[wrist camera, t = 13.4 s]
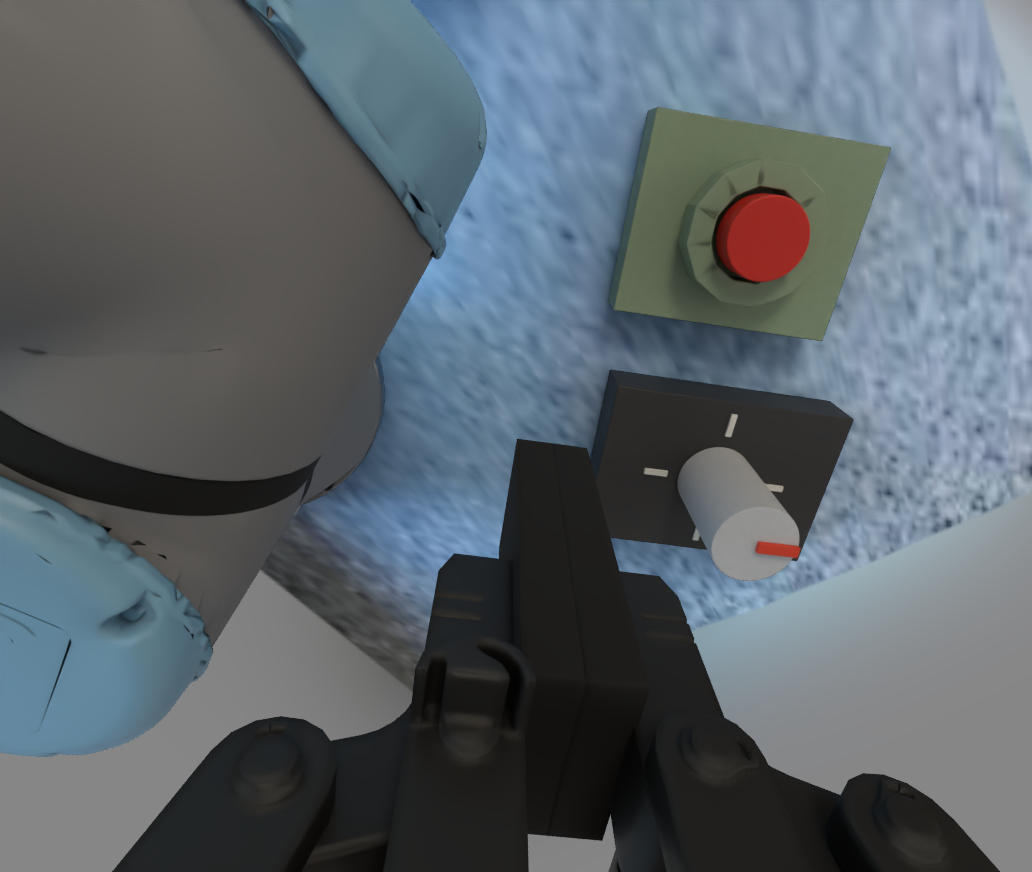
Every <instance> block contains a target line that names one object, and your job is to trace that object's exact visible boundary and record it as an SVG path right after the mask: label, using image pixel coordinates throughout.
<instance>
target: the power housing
mask: <svg viewBox="0 0 1032 872" xmlns="http://www.w3.org/2000/svg"><path fill="white" fill-rule="evenodd" d="M890 150H891V148H890V147H885V146H879V145H873V144H868V143H862V142H856V141H850V140H845V139H839V138H833V137H827V136H822V135H816V134H810V133H804V132H798V131H793V130H787V129H781V128H775V127H770V126H764V125H758V124H752V123H747V122H741V121H735V120H729V119H723V118H718V117H712V116H706V115H700V114H695V113H689V112H683V111H677V110H672V109H666V108H660V107H657V108H654V109H651V110H649V111H648V114H647V119H646V123H645V128H644V133H643V138H642V142H641V147H640V152H639V157H638V161H637V166H636V171H635V176H634V180H633V185H632V190H631V195H630V199H629V204H628V209H627V214H626V218H625V223H624V228H623V233H622V237H621V242H620V247H619V252H618V257H617V261H616V266H615V271H614V276H613V280H612V285H611V290H610V295H609V299H608V302H609V303H610V305H611V306H612V308H613V309H614V310H618V311H624V312H631V313H638V314H644V315H651V316H658V317H664V318H671V319H678V320H684V321H691V322H697V323H704V324H711V325H717V326H724V327H731V328H737V329H744V330H751V331H757V332H764V333H771V334H777V335H784V336H791V337H797V338H804V339H810V340H817V341H822V340H823V337H824V334H825V332H826V329H827V326H828V323H829V320H830V318H831V315H832V312H833V309H834V306H835V304H836V301H837V298H838V295H839V293H840V290H841V287H842V284H843V281H844V279H845V276H846V273H847V270H848V267H849V265H850V262H851V259H852V256H853V253H854V251H855V248H856V245H857V242H858V239H859V237H860V234H861V231H862V228H863V225H864V223H865V220H866V217H867V214H868V212H869V209H870V206H871V203H872V200H873V198H874V195H875V192H876V189H877V186H878V184H879V181H880V178H881V175H882V172H883V170H884V167H885V164H886V161H887V158H888V156H889V153H890ZM758 193H766V194H775V195H782V196H786V197H789V198H791V199H793V200H794V201H796V202H797V203H798V204H800V205H801V207H802V208H803V209H804V211H805V212H806V214H807V216H808V219H809V223H810V240H809V244H808V247H807V250H806V252H805V254H804V256H803V258H802V259H801V261H800V262H799V263H798V264H797V266H796V267H795V268H793V269H792V270H791V271H790V272H789V273H787V274H786V275H784V276H782V277H780V278H778V279H775V280H772V281H767V282H755V281H751V280H748V279H745V278H743V277H741V276H739V275H737V274H735V273H734V272H732V271H730V270H729V269H728V268H727V267H726V266H725V265H724V264H723V263H722V261H721V259H720V257H719V255H718V252H717V247H716V235H717V230H718V227H719V224H720V222H721V220H722V218H723V216H724V215H725V213H726V212H727V211H728V210H729V209H730V208H731V207H732V206H733V205H734V204H735V203H736V202H738V201H739V200H741V199H742V198H745V197H747V196H750V195H753V194H758Z"/></svg>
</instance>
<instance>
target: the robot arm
mask: <svg viewBox="0 0 1032 872" xmlns="http://www.w3.org/2000/svg"><path fill="white" fill-rule="evenodd" d="M486 137H487V130H486V121H485V114H484V108H483V105H482V102H481V100H480V98H479V95H478V93H477V91H476V87H475V85H474V83H473V81H472V79H471V78H470V76H469V74H468V73H467V71H466V70H465V68H464V67H463V65H462V64H461V62H460V61H459V59H458V58H457V56H456V55H455V54H454V52H453V51H452V50H451V48H450V47H449V46H448V44H447V43H446V42H445V40H444V39H443V38H442V37H441V36H440V34H439V33H438V32H437V31H436V30H435V28H434V27H433V26H432V25H431V24H430V22H429V21H428V20H427V19H426V18H425V17H424V15H423V14H422V13H421V12H420V11H419V10H418V9H417V7H416V6H415V5H414V4H413V3H412V2H411V1H410V0H0V752H1V753H7V754H14V755H22V756H38V757H49V756H55V755H58V754H66V755H84V754H85V755H86V754H91V753H95V752H99V751H104V750H107V749H110V748H114V747H116V746H120V745H122V744H125V743H127V742H129V741H131V740H133V739H135V738H137V737H138V736H140V735H142V734H144V733H145V732H147V731H148V730H150V729H151V728H152V727H154V726H155V725H156V724H157V723H158V722H159V721H161V720H162V719H163V717H165V716H166V715H167V713H168V712H169V711H170V710H171V708H172V707H173V706H174V704H175V703H176V701H177V700H178V699H179V698H180V696H181V695H182V693H183V692H184V691H185V689H186V688H187V687H188V685H189V684H190V683H191V682H193V681H196V680H197V679H198V678H199V677H200V676H201V675H202V674H203V673H204V671H205V670H206V669H207V667H208V664H209V661H210V659H211V656H212V653H213V648H212V647H213V645H214V644H215V642H216V640H217V639H218V637H219V635H220V634H221V632H222V631H223V629H224V627H225V626H226V624H227V622H228V621H229V619H230V618H231V616H232V614H233V613H234V611H235V609H236V608H237V606H238V604H239V603H240V601H241V600H242V598H243V596H244V595H245V593H246V592H247V590H248V588H249V587H250V585H251V583H252V582H253V580H254V579H255V577H256V575H257V574H258V572H259V570H260V569H261V567H262V566H263V564H264V562H265V561H266V559H267V557H268V556H269V554H270V553H271V551H272V549H273V548H274V546H275V544H276V543H277V541H278V540H279V538H280V536H281V535H282V533H283V531H284V530H285V528H286V527H287V525H288V523H289V522H290V520H291V518H292V517H293V515H294V514H295V515H296V513H297V512H298V510H299V508H300V506H301V505H302V504H305V503H308V502H310V501H313V500H315V499H317V498H319V497H321V496H323V495H325V494H326V493H328V492H330V491H331V490H333V489H334V488H335V487H337V486H338V485H339V484H341V483H342V482H343V481H344V480H345V479H346V478H347V477H348V476H349V475H350V474H351V473H352V472H353V471H354V470H355V469H356V468H357V467H358V465H359V464H360V463H361V462H362V460H363V459H364V457H365V456H366V454H367V453H368V451H369V449H370V447H371V445H372V443H373V441H374V439H375V437H376V435H377V432H378V429H379V427H380V424H381V420H382V416H383V411H384V403H385V387H384V377H383V372H382V367H381V363H380V360H379V356H378V355H379V353H380V351H381V349H382V347H383V346H384V344H385V342H386V340H387V338H388V337H389V335H390V333H391V331H392V329H393V328H394V326H395V324H396V322H397V320H398V318H399V317H400V315H401V313H402V311H403V309H404V308H405V306H406V304H407V302H408V300H409V299H410V297H411V295H412V293H413V291H414V289H415V288H416V286H417V284H418V282H419V280H420V279H421V277H422V275H423V273H424V271H425V270H426V268H427V266H428V264H429V262H430V260H431V259H432V257H434V258H435V259H439V258H441V256H442V254H443V252H444V250H445V247H446V240H445V234H446V232H447V230H448V228H449V226H450V224H451V222H452V220H453V218H454V216H455V214H456V212H457V209H458V207H459V205H460V203H461V201H462V199H463V197H464V195H465V193H466V191H467V189H468V187H469V185H470V183H471V181H472V179H473V177H474V175H475V173H476V171H477V169H478V167H479V165H480V163H481V160H482V158H483V154H484V150H485V145H486ZM295 515H294V517H295ZM610 814H611V819H612V826H613V833H614V839H615V845H616V851H615V854H614V857H613V860H612V863H611V866H610V869H609V872H1000V871H999V870H998V869H997V868H996V867H995V866H994V864H993V863H992V862H991V861H990V860H989V859H988V858H987V856H986V855H985V854H984V853H983V852H982V851H981V850H980V849H979V848H978V846H977V845H976V844H975V843H974V842H973V841H972V840H971V838H970V837H969V836H968V835H967V834H966V833H965V832H964V830H963V829H962V828H961V827H960V826H959V825H958V824H957V823H956V822H955V820H954V819H953V818H951V817H950V816H949V815H948V814H947V813H946V812H945V811H944V810H943V809H942V808H941V807H940V806H939V805H938V804H936V803H935V802H934V801H933V800H932V799H931V798H929V797H928V796H926V795H925V794H923V793H921V792H920V791H918V790H917V789H915V788H913V787H912V786H910V785H909V784H907V783H904V782H902V781H899V780H896V779H894V778H891V777H888V776H886V775H880V774H865V773H863V774H861V775H858V776H856V777H854V778H852V779H850V780H848V782H847V784H846V786H845V788H844V790H843V792H842V793H841V795H839V794H836V793H833V792H831V791H828V790H825V789H823V788H820V787H818V786H815V785H812V784H810V783H807V782H805V781H802V780H799V779H797V778H794V777H791V776H789V775H787V774H785V773H783V772H781V771H779V770H776V769H774V768H772V767H771V766H769V765H768V764H767V761H766V759H765V757H764V756H763V754H762V753H761V751H760V749H759V748H758V746H757V745H756V743H755V741H754V740H753V739H752V738H751V737H750V736H749V735H747V734H746V733H745V732H744V731H743V730H742V729H741V728H740V727H739V726H738V725H737V724H735V723H733V722H731V721H729V720H727V719H726V718H724V716H723V713H722V710H721V708H720V705H719V702H718V700H717V697H716V695H715V692H714V689H713V687H712V684H711V682H710V679H709V676H708V674H707V671H706V668H705V666H704V663H703V661H702V658H701V656H700V653H699V650H698V647H697V645H696V644H695V643H694V637H693V634H692V632H691V629H690V626H689V624H687V619H686V616H685V613H684V611H683V608H682V606H681V603H680V600H679V598H678V596H677V595H676V594H675V593H674V592H673V591H672V590H671V589H670V588H669V586H668V585H667V584H666V583H665V582H664V581H663V580H662V579H661V578H660V577H659V576H654V575H645V574H637V573H629V572H620V571H619V568H618V564H617V561H616V557H615V553H614V549H613V545H612V542H611V538H610V534H609V530H608V526H607V523H606V519H605V515H604V511H603V507H602V503H601V500H600V496H599V492H598V488H597V484H596V481H595V477H594V473H593V469H592V465H591V462H590V458H589V454H588V450H587V448H582V447H575V446H567V445H560V444H552V443H545V442H537V441H530V440H522V439H517V442H516V449H515V455H514V461H513V467H512V473H511V479H510V485H509V491H508V497H507V503H506V509H505V515H504V521H503V528H502V534H501V540H500V546H499V559H496V558H487V557H479V556H471V555H462V554H453V556H452V557H451V558H450V559H449V560H448V561H447V562H446V563H445V564H444V565H443V567H442V568H441V569H440V570H439V572H438V578H437V583H436V589H435V595H434V600H433V606H432V612H431V617H430V623H429V629H428V634H427V640H426V646H425V651H424V652H423V653H422V655H421V658H420V660H419V662H418V664H417V666H416V668H415V677H414V686H413V696H412V703H411V704H410V706H409V707H408V709H407V710H406V711H405V712H404V713H403V714H402V715H401V716H400V717H399V718H397V719H396V720H395V721H394V722H392V723H390V724H388V725H387V726H385V727H383V728H381V729H379V730H377V731H373V732H370V733H367V734H363V735H359V736H354V737H349V738H343V739H339V740H333V741H330V740H329V738H328V737H327V735H326V734H325V733H324V731H323V730H322V729H320V728H318V727H317V726H315V725H313V724H311V723H309V722H308V721H306V720H303V719H296V718H289V717H282V716H280V717H274V718H268V719H263V720H257V721H254V722H252V723H250V724H248V725H246V726H244V727H241V728H239V729H237V730H235V731H233V732H231V733H230V734H229V735H228V736H227V737H226V738H224V739H223V740H222V741H221V742H220V743H219V744H218V745H217V746H216V747H214V748H213V749H212V750H211V751H210V753H209V754H208V755H207V756H206V757H205V759H204V760H203V761H202V763H201V764H200V765H199V766H198V767H197V768H196V770H195V771H194V772H193V773H192V775H191V776H190V777H189V778H188V780H187V781H186V782H185V784H183V786H182V787H181V788H180V789H179V791H178V792H177V793H176V794H175V796H174V797H173V798H172V799H171V800H170V802H169V803H168V804H167V805H166V806H165V808H164V809H163V810H162V811H161V813H160V814H159V815H158V816H157V818H156V819H155V820H154V821H153V822H152V824H151V825H150V826H149V827H148V829H147V830H146V831H145V832H144V833H143V835H142V836H141V837H140V838H139V840H138V841H137V842H136V843H135V845H134V846H133V847H132V848H131V849H130V851H129V852H128V853H127V854H126V856H125V857H124V858H123V859H122V860H121V862H120V863H119V864H118V865H117V867H116V868H115V869H114V870H113V871H112V872H528V871H529V870H528V837H527V836H528V834H535V835H546V836H557V837H568V838H579V839H591V840H601V841H602V839H603V836H604V833H605V830H606V827H607V824H608V820H609V817H610Z"/></svg>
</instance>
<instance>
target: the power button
mask: <svg viewBox="0 0 1032 872" xmlns="http://www.w3.org/2000/svg"><path fill="white" fill-rule="evenodd" d="M809 240H810V223H809V219H808V216H807V214H806V212H805V211H804V209H803V208H802V207H801V205H800V204H798V203H797V202H796V201H794V200H793V199H791V198H789V197H786V196H782V195H775V194H766V193H758V194H753V195H750V196H747V197H745V198H742V199H741V200H739V201H738V202H736V203H735V204H734V205H733V206H732V207H731V208H730V209H729V210H728V211H727V212H726V213H725V215H724V216H723V218H722V220H721V222H720V224H719V227H718V230H717V235H716V247H717V252H718V255H719V257H720V259H721V261H722V263H723V264H724V265H725V266H726V267H727V268H728V269H729V270H730V271H732V272H734V273H735V274H737V275H739V276H741V277H743V278H745V279H748V280H751V281H755V282H767V281H772V280H775V279H778V278H780V277H782V276H784V275H786V274H787V273H789V272H790V271H791V270H792V269H793V268H795V267H796V266H797V264H798V263H799V262H800V261H801V259H802V258H803V256H804V254H805V252H806V250H807V247H808V244H809Z"/></svg>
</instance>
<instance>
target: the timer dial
mask: <svg viewBox="0 0 1032 872" xmlns="http://www.w3.org/2000/svg"><path fill="white" fill-rule="evenodd" d="M677 485H678V491H679V494H680V496H681V498H682V500H683V502H684V504H685V506H686V508H687V510H688V512H689V514H690V516H691V518H692V520H693V522H694V524H695V526H696V528H697V530H698V532H699V534H700V536H701V538H702V540H703V542H704V544H705V546H706V548H707V550H708V552H709V554H710V556H711V558H712V560H713V562H714V564H715V565H716V567H717V568H718V569H719V570H720V571H721V572H722V573H724V574H725V575H727V576H729V577H731V578H734V579H737V580H742V581H755V580H761V579H764V578H767V577H770V576H772V575H774V574H776V573H778V572H779V571H781V570H782V569H783V568H785V567H786V566H787V565H788V564H789V563H790V561H791V560H792V559H793V558H798V555H799V553H800V550H801V549H800V547H799V530H798V528H797V525H796V523H795V522H794V520H793V519H792V518H791V517H790V515H789V514H788V513H787V511H786V510H785V509H784V508H783V506H782V505H781V504H780V502H779V501H778V500H777V499H776V497H775V496H774V495H773V494H772V492H771V491H770V490H769V488H768V487H767V486H766V485H765V483H764V482H763V481H762V480H761V478H760V477H759V476H758V474H757V473H756V472H755V471H754V469H753V468H752V467H751V465H750V464H749V463H748V462H747V460H746V459H745V458H744V457H743V456H742V455H741V454H740V453H738V452H737V451H735V450H732V449H729V448H724V447H714V448H708V449H705V450H702V451H700V452H698V453H696V454H695V455H693V456H692V457H691V458H690V459H689V460H688V461H687V462H686V463H685V464H684V466H683V467H682V469H681V471H680V473H679V476H678V484H677Z"/></svg>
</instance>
